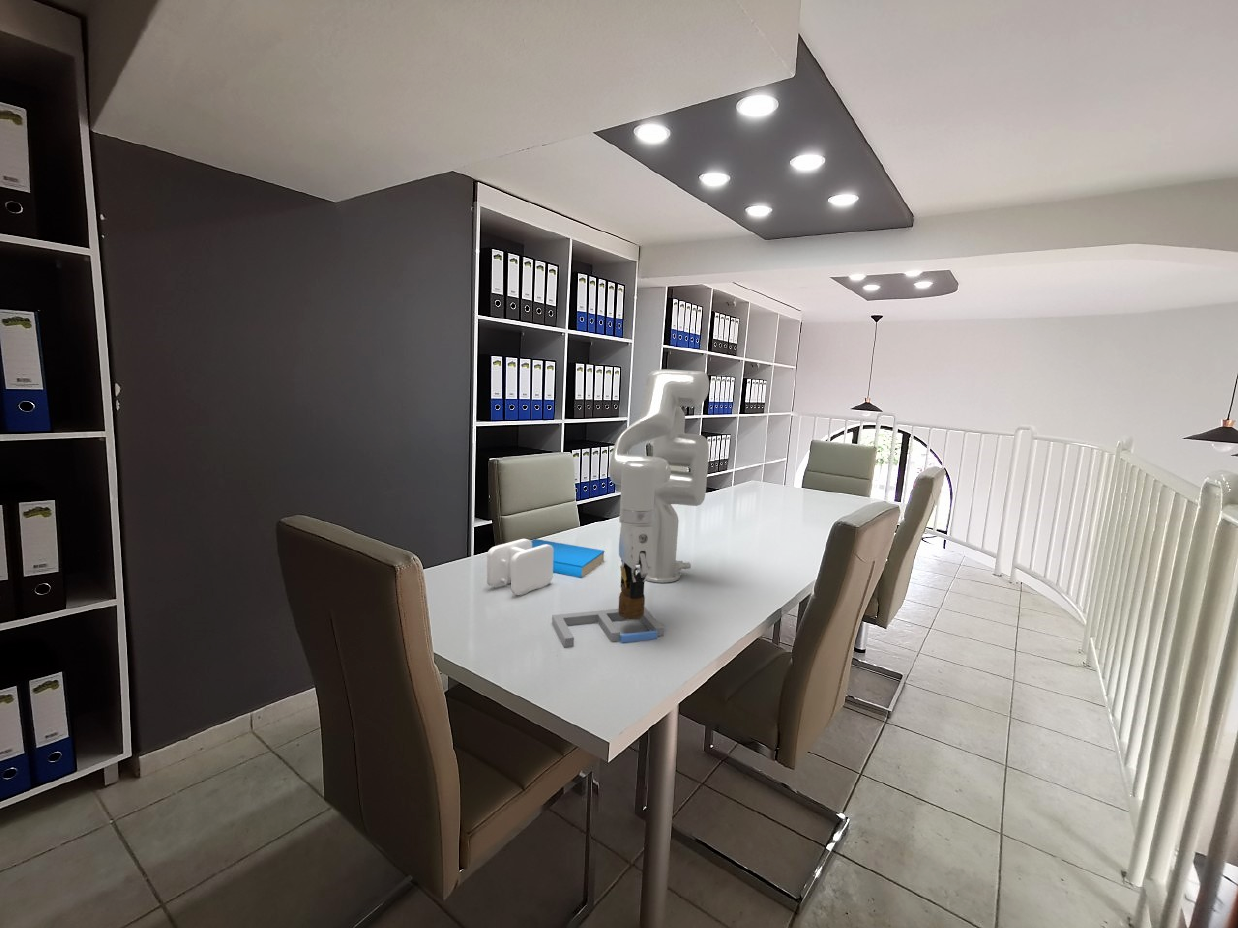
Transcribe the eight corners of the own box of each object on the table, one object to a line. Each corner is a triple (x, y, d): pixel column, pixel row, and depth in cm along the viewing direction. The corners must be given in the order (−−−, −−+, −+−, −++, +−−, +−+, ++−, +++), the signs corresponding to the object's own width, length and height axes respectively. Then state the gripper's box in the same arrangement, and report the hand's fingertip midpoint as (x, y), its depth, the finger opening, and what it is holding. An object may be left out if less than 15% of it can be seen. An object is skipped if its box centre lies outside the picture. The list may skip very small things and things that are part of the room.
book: (534, 538, 183) (604, 549, 174) (534, 551, 183) (604, 562, 175) (506, 553, 167) (582, 565, 158) (506, 566, 168) (582, 579, 159)
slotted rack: (643, 613, 137) (644, 606, 137) (665, 637, 125) (665, 629, 125) (552, 623, 129) (552, 615, 129) (565, 649, 117) (565, 640, 117)
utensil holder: (649, 616, 127) (652, 566, 125) (626, 622, 124) (630, 571, 122) (633, 607, 132) (636, 559, 130) (611, 612, 128) (614, 563, 127)
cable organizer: (512, 600, 141) (513, 556, 140) (485, 589, 148) (485, 547, 146) (553, 584, 153) (554, 543, 152) (526, 574, 160) (527, 535, 158)
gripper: (667, 525, 118) (661, 606, 120) (637, 506, 134) (633, 578, 136) (634, 526, 115) (629, 609, 118) (608, 507, 131) (604, 580, 134)
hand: (631, 592), depth 127 cm, fingers closed on utensil holder, 5 cm apart
